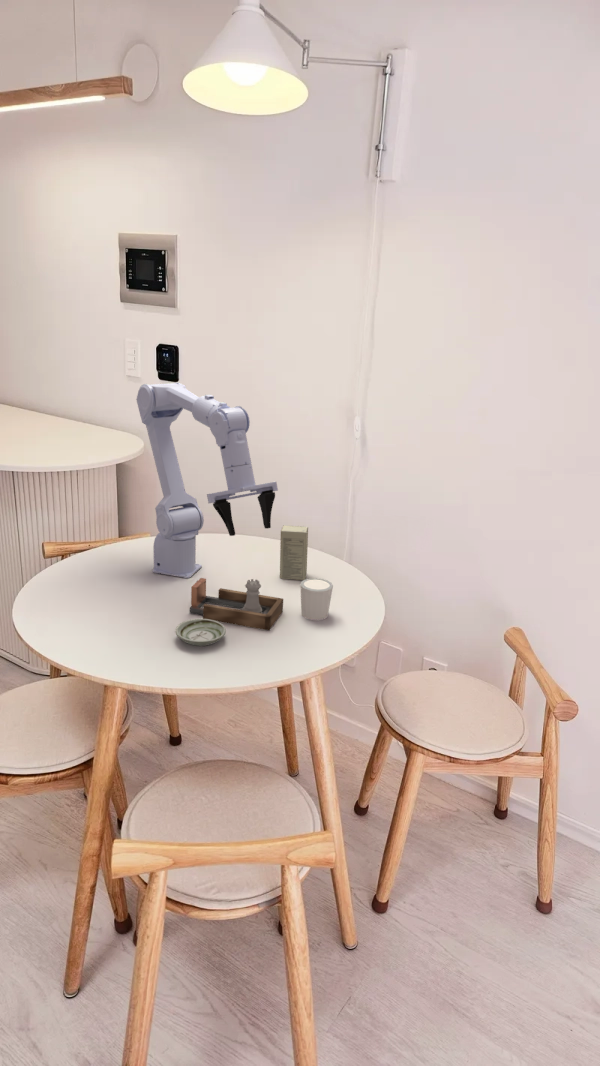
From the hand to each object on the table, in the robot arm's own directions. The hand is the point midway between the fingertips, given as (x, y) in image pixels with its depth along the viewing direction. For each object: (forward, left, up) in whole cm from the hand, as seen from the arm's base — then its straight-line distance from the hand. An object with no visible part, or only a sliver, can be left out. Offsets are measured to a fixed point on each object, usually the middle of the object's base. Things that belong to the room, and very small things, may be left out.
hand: (250, 531), depth 143 cm
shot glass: (+14, +3, -18) cm, 23 cm away
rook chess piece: (+2, -3, -18) cm, 18 cm away
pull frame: (-3, -3, -17) cm, 18 cm away
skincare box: (+4, +21, -18) cm, 27 cm away
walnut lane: (0, -3, -17) cm, 18 cm away
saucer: (-4, -16, -18) cm, 24 cm away
